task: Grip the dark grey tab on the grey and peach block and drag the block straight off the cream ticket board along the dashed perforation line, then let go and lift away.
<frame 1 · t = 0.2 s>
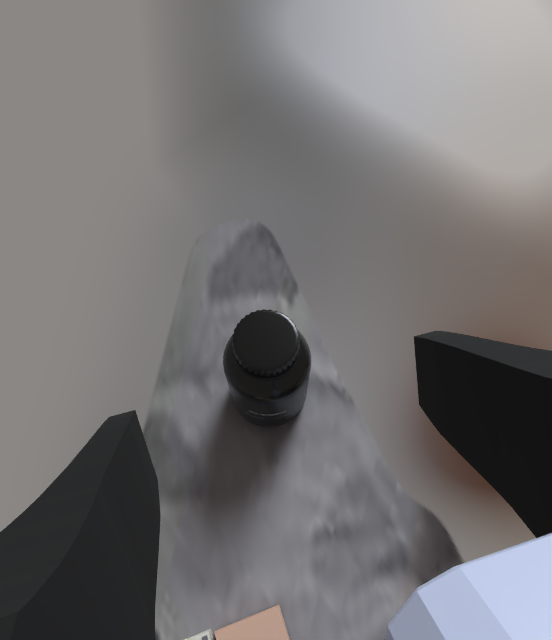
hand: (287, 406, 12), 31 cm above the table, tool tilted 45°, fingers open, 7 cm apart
supplement bottle: (270, 392, 45), on the table
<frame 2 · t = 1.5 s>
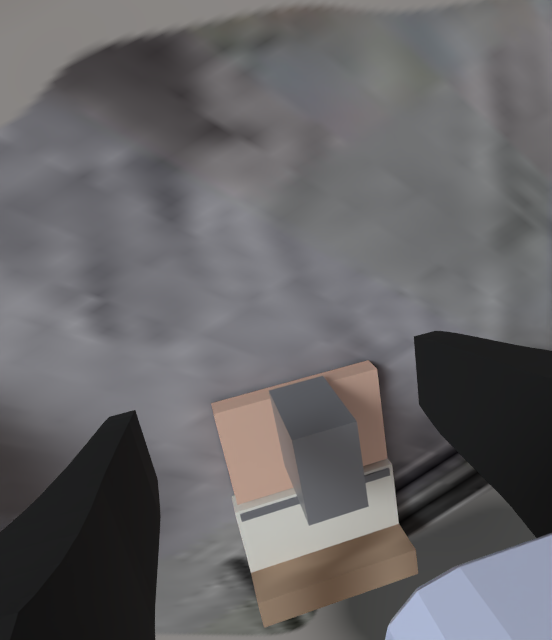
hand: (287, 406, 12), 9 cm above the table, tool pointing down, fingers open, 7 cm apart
ticket board: (316, 514, 25), on the table
grey and peach block: (315, 452, 21), point 3 cm above the table, slide at 0.0 cm
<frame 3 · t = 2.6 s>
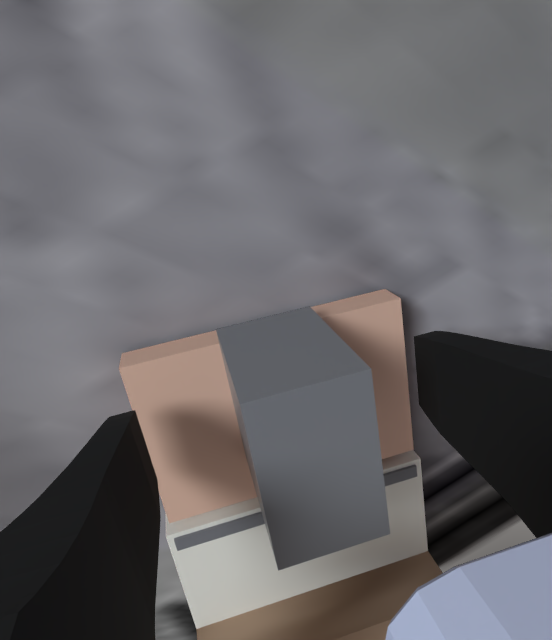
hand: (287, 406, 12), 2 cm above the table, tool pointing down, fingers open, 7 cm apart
ticket board: (301, 536, 17), on the table
grey and peach block: (294, 436, 12), point 3 cm above the table, slide at 0.0 cm
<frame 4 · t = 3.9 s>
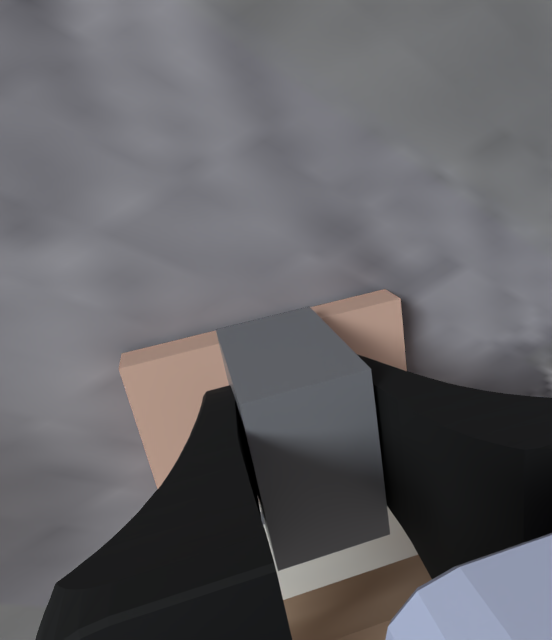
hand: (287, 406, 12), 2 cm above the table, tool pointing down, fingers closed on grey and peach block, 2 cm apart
ticket board: (301, 536, 17), on the table
grey and peach block: (294, 436, 12), point 3 cm above the table, slide at 0.0 cm, touching gripper
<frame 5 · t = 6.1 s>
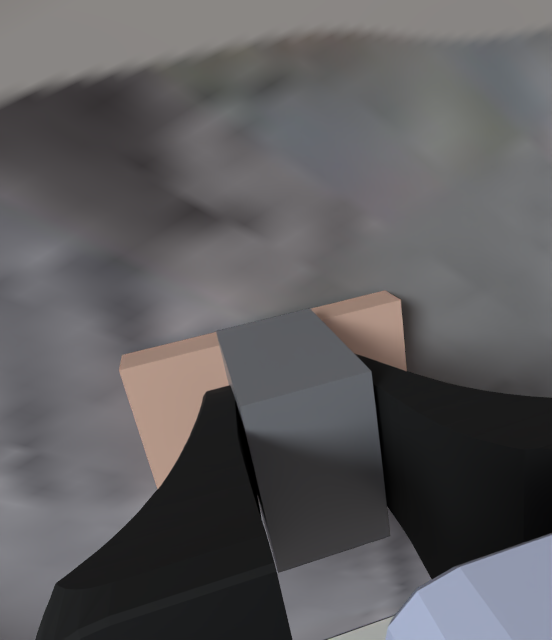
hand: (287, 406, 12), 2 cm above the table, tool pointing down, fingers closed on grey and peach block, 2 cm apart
grey and peach block: (295, 438, 12), point 3 cm above the table, slide at 8.0 cm, touching gripper
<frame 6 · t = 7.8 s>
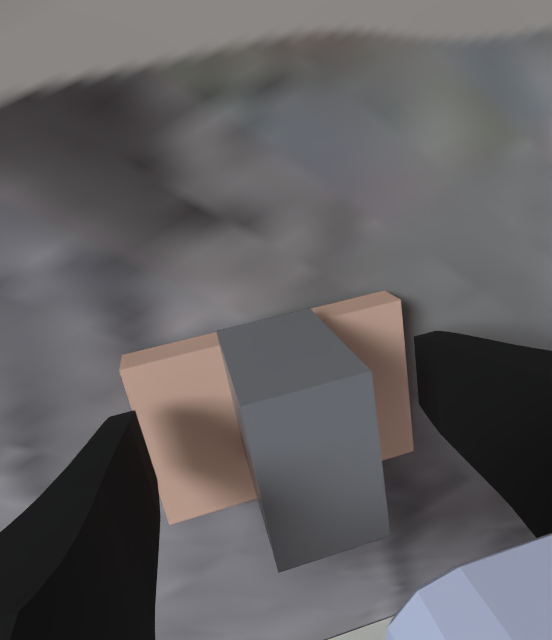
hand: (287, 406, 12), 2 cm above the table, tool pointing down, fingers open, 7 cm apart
grey and peach block: (295, 438, 12), point 3 cm above the table, slide at 8.0 cm
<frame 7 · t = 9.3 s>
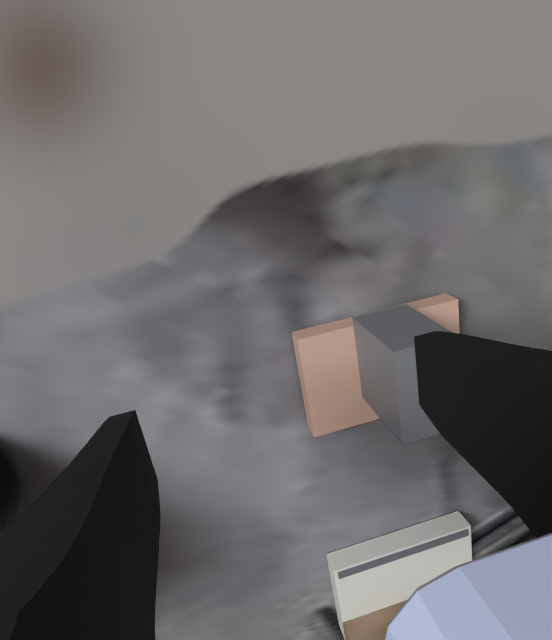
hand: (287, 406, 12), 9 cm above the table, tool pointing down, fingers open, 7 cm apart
ticket board: (397, 568, 28), on the table
grey and peach block: (399, 379, 21), point 3 cm above the table, slide at 8.0 cm
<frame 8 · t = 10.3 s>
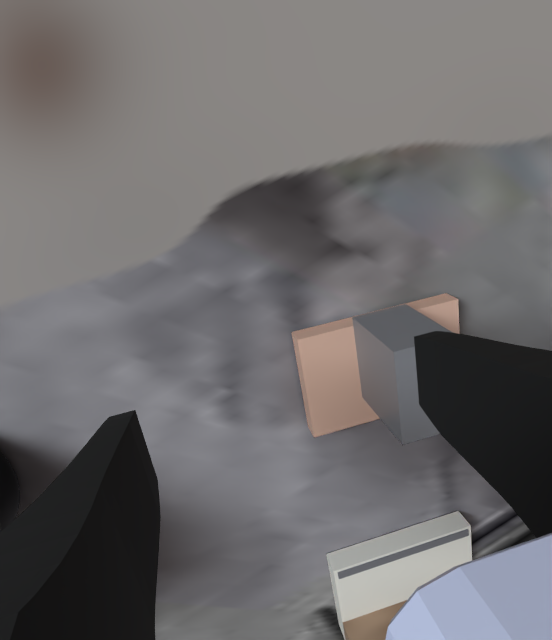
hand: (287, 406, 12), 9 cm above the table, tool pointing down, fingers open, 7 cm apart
ticket board: (397, 568, 28), on the table
grey and peach block: (399, 379, 21), point 3 cm above the table, slide at 8.0 cm
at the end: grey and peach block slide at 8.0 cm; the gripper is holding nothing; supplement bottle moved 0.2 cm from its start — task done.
